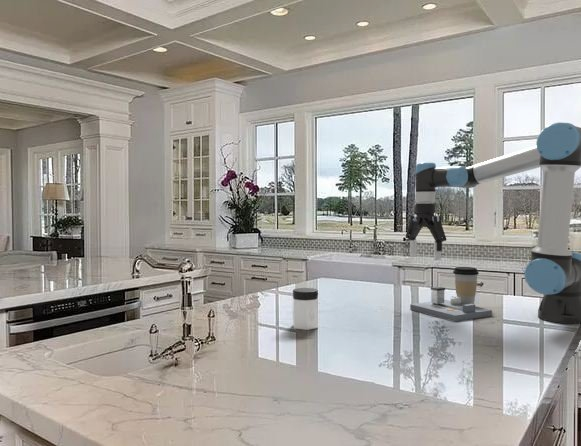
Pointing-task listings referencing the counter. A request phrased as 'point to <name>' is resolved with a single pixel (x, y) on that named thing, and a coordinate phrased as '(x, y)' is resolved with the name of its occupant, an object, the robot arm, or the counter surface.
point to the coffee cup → (466, 283)
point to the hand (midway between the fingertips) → (424, 258)
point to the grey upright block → (437, 295)
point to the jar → (305, 308)
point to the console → (452, 310)
